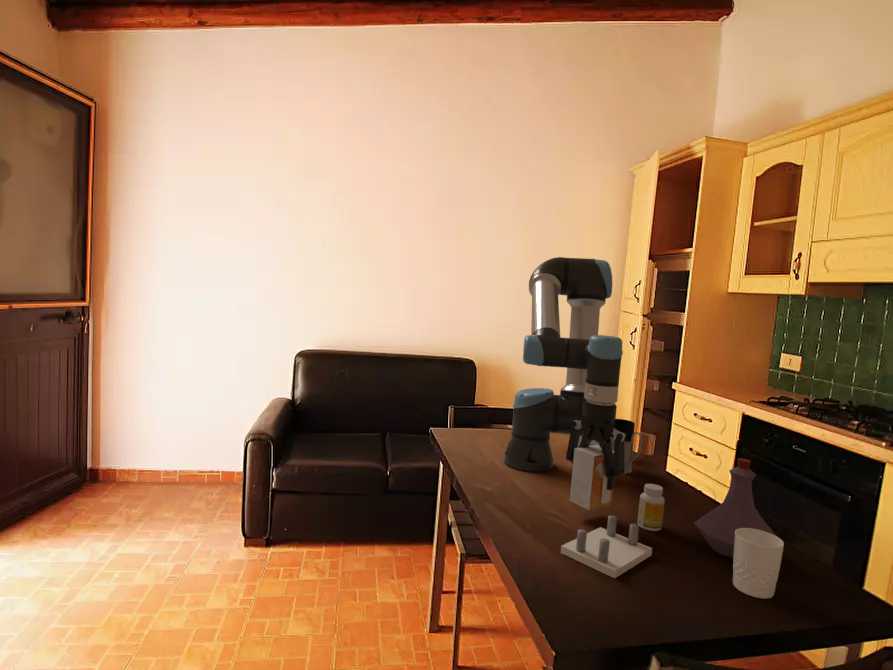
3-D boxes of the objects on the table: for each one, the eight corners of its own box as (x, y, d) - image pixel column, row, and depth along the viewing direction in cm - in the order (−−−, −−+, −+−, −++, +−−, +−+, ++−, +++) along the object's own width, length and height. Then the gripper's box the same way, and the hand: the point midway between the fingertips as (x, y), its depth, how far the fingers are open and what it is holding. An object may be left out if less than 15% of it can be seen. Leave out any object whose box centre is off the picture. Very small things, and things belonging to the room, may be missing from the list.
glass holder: (620, 463, 172) (625, 418, 171) (650, 479, 159) (655, 429, 157) (597, 464, 169) (601, 418, 168) (625, 480, 156) (630, 430, 155)
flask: (741, 575, 104) (753, 476, 103) (675, 538, 119) (684, 450, 118) (796, 563, 111) (808, 469, 109) (727, 529, 126) (736, 446, 124)
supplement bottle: (632, 523, 126) (636, 483, 125) (648, 520, 128) (652, 481, 127) (650, 533, 121) (654, 492, 120) (667, 529, 123) (671, 489, 123)
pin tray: (560, 552, 109) (563, 526, 108) (599, 533, 119) (602, 509, 118) (614, 578, 100) (617, 550, 100) (651, 555, 110) (654, 529, 110)
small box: (589, 511, 122) (594, 456, 121) (568, 501, 128) (573, 447, 126) (612, 504, 127) (617, 451, 126) (591, 495, 132) (596, 443, 131)
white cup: (720, 577, 103) (725, 527, 102) (758, 577, 104) (764, 528, 103) (746, 600, 95) (752, 546, 95) (787, 601, 96) (794, 547, 95)
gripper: (555, 395, 129) (547, 486, 132) (631, 413, 115) (621, 515, 117) (573, 392, 135) (565, 480, 137) (648, 409, 120) (637, 507, 123)
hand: (591, 496), depth 127 cm, fingers closed on small box, 7 cm apart
